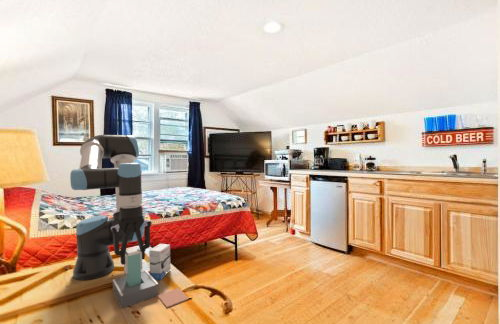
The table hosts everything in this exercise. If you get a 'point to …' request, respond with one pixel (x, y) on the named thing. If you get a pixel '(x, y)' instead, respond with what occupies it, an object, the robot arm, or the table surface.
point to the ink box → (159, 261)
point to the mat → (172, 297)
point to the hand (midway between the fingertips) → (133, 270)
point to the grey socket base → (135, 290)
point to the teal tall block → (133, 267)
